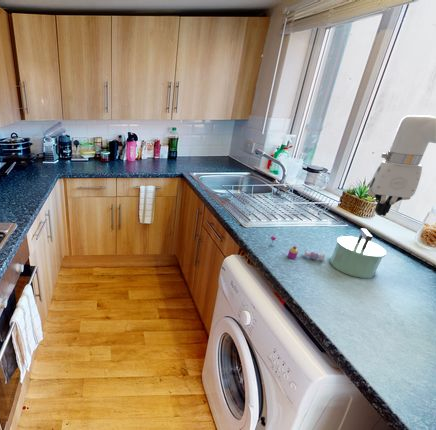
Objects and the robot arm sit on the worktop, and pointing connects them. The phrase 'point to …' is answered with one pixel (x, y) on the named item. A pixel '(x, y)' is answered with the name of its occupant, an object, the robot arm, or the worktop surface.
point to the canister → (354, 263)
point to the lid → (361, 245)
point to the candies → (313, 255)
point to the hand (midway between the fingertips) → (380, 214)
